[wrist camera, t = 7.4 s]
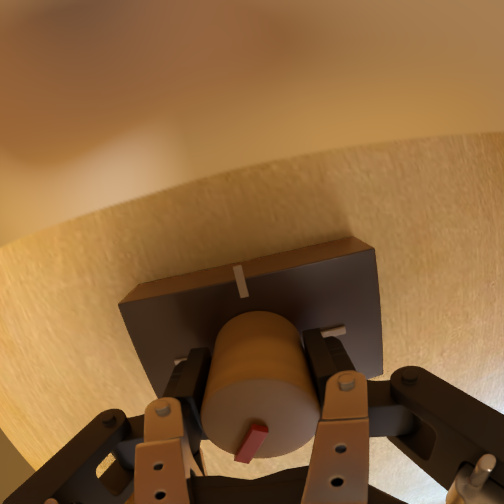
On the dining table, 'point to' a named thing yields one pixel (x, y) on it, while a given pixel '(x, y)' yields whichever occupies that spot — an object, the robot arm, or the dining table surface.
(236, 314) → the dimmer panel
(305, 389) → the dimmer knob
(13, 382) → the dining table surface
